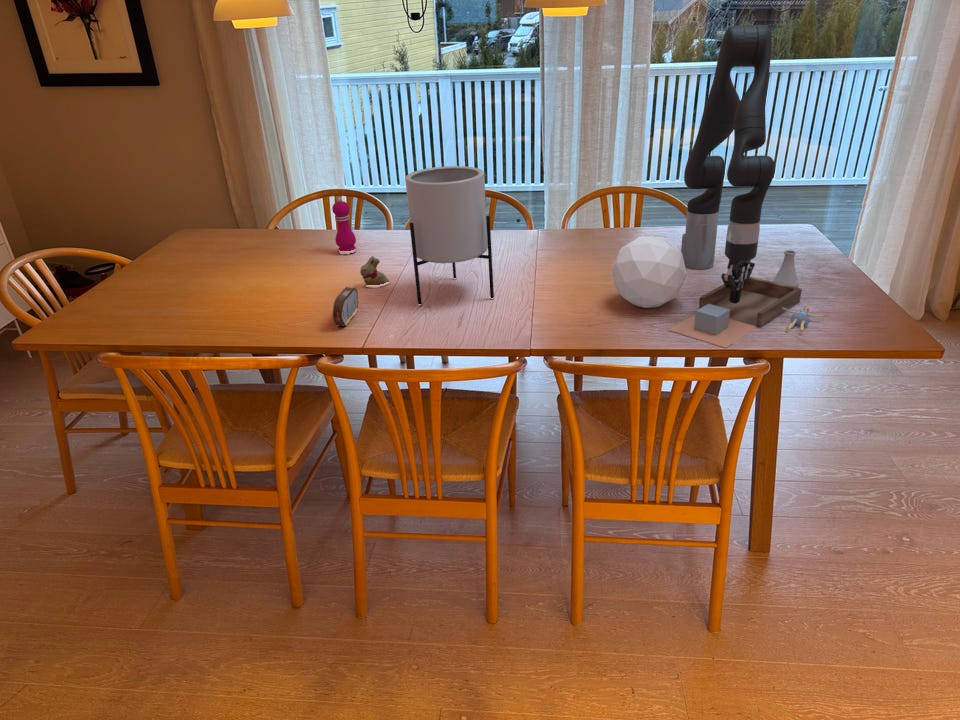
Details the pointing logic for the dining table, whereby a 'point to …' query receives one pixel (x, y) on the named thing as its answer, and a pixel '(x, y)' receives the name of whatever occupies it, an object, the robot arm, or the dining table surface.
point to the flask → (787, 270)
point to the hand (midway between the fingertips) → (734, 302)
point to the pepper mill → (343, 226)
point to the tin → (345, 305)
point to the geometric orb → (649, 271)
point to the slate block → (712, 319)
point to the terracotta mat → (721, 339)
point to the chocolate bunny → (372, 273)
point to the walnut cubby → (755, 301)
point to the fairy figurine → (800, 319)
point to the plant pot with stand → (448, 217)
